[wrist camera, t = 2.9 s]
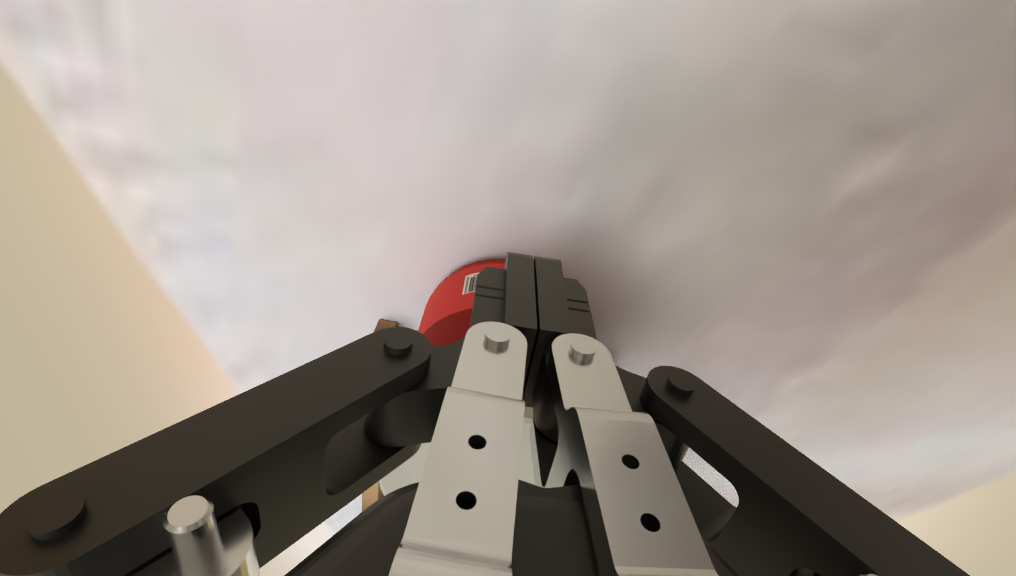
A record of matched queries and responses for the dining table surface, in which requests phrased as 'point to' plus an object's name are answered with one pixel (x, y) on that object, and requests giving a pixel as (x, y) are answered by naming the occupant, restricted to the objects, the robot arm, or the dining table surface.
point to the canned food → (445, 326)
